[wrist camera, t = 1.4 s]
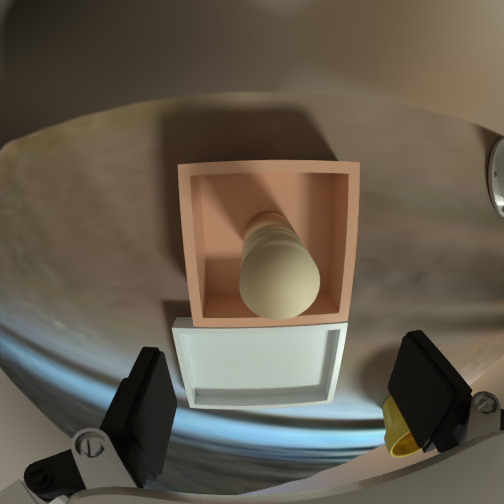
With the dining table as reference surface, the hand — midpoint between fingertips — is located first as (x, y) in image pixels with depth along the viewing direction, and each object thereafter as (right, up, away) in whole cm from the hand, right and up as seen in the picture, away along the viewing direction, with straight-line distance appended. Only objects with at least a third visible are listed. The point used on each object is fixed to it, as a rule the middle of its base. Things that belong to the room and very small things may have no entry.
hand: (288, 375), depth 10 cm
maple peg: (0, +6, +19) cm, 20 cm away
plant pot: (+24, -21, +29) cm, 43 cm away
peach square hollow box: (0, +7, +20) cm, 21 cm away
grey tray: (0, -10, +25) cm, 27 cm away
